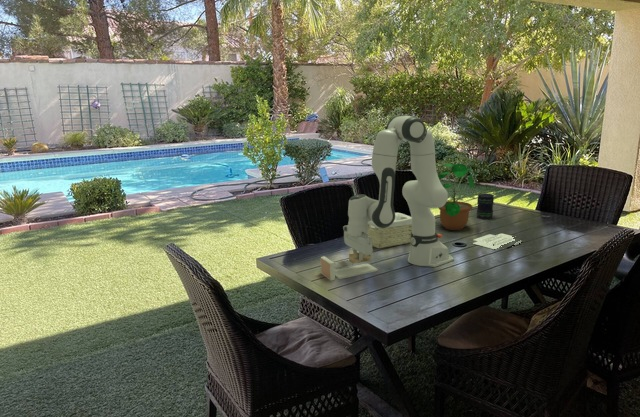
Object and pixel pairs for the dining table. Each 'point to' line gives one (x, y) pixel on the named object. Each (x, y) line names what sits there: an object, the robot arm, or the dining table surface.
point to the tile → (328, 268)
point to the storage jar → (485, 206)
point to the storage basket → (391, 232)
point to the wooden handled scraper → (352, 260)
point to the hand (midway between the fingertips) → (358, 258)
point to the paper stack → (494, 240)
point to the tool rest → (354, 271)
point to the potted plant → (455, 211)
